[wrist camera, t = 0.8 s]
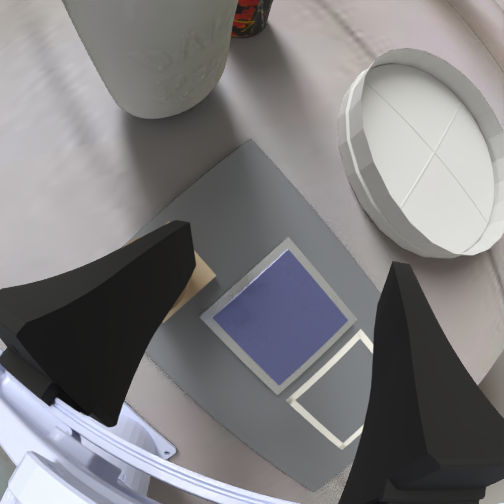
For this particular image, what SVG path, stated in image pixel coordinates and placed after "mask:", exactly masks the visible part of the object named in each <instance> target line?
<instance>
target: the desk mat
mask: <svg viewBox="0 0 504 504" xmlns="http://www.w3.org/2000/svg"><path fill="white" fill-rule="evenodd" d="M174 220H180V221H185V222H190V226H191V233H192V240H193V247H194V251H195V252H196V253H197V254H198V255H199V256H200V258H201V259H202V260H203V261H204V262H205V263H206V264H207V265H208V267H209V268H210V269H211V270H212V271H213V272H214V273H215V275H216V276H215V277H214V278H213V279H212V280H211V281H210V282H209V283H208V284H206V285H205V286H204V287H203V288H202V289H201V290H200V291H199V292H198V293H196V294H195V295H194V296H193V297H192V298H191V299H190V300H189V301H187V302H186V303H185V304H184V305H183V306H182V307H181V308H180V309H179V310H177V311H176V312H175V313H174V314H173V315H172V316H171V317H170V318H169V319H167V320H166V321H165V322H164V323H163V322H162V323H161V325H160V326H159V328H158V329H157V331H156V332H155V334H154V336H153V337H152V339H151V341H150V343H149V345H148V347H147V349H146V351H145V352H146V353H147V355H148V356H149V357H150V358H151V359H152V360H153V361H154V362H155V363H156V364H157V365H158V366H159V367H160V368H161V369H162V370H163V371H164V372H165V373H166V374H167V375H168V376H169V377H170V378H171V379H172V380H173V381H174V382H175V383H176V384H177V385H178V386H179V387H180V388H181V389H182V390H184V391H185V392H186V393H187V394H188V395H189V396H190V397H191V398H192V399H193V400H194V401H195V402H196V403H198V404H199V405H200V406H201V407H202V408H203V409H204V410H205V411H206V412H208V413H209V414H210V415H211V416H212V417H213V418H214V419H216V420H217V421H218V422H219V423H220V424H222V425H223V426H224V427H225V428H226V429H227V430H229V431H230V432H231V433H232V434H234V435H235V436H236V437H237V438H238V439H240V440H241V441H242V442H244V443H245V444H246V445H247V446H249V447H250V448H251V449H252V450H254V451H255V452H256V453H258V454H259V455H260V456H262V457H263V458H264V459H266V460H267V461H268V462H270V463H271V464H273V465H274V466H275V467H277V468H278V469H280V470H281V471H282V472H284V473H285V474H287V475H288V476H290V477H291V478H293V479H294V480H295V481H297V482H298V483H300V484H302V485H303V486H305V487H306V488H308V489H309V490H311V491H312V492H314V491H316V490H317V489H318V488H320V487H321V486H322V485H324V484H325V483H326V482H328V481H329V480H330V479H332V478H333V477H334V476H335V475H337V474H338V473H339V472H340V471H342V470H343V469H344V468H345V467H346V466H348V465H349V464H350V463H351V462H352V461H354V459H355V455H356V452H357V449H358V445H359V441H360V438H361V434H362V430H363V426H364V421H365V417H366V412H367V408H368V403H369V397H370V390H371V378H372V362H373V339H374V326H375V318H376V311H377V304H378V301H379V299H380V296H381V293H380V292H379V291H378V289H377V288H376V287H375V285H374V284H373V283H372V281H371V280H370V279H369V277H368V276H367V275H366V273H365V272H364V271H363V270H362V268H361V267H360V266H359V264H358V263H357V262H356V261H355V259H354V258H353V257H352V255H351V254H350V253H349V252H348V250H347V249H346V248H345V247H344V245H343V244H342V243H341V242H340V240H339V239H338V238H337V237H336V235H335V234H334V233H333V232H332V231H331V229H330V228H329V227H328V226H327V224H326V223H325V222H324V221H323V220H322V218H321V217H320V216H319V215H318V214H317V212H316V211H315V210H314V209H313V208H312V207H311V205H310V204H309V203H308V202H307V201H306V199H305V198H304V197H303V196H302V195H301V194H300V192H299V191H298V190H297V189H296V188H295V187H294V186H293V184H292V183H291V182H290V181H289V180H288V179H287V178H286V176H285V175H284V174H283V173H282V172H281V171H280V170H279V169H278V168H277V166H276V165H275V164H274V163H273V162H272V161H271V160H270V159H269V158H268V156H267V155H266V154H265V153H264V152H263V151H262V150H261V149H260V148H259V147H258V146H257V145H256V143H255V142H254V141H253V140H252V139H249V140H248V141H247V142H246V143H244V144H243V145H242V146H240V147H239V148H238V149H236V150H235V151H234V152H232V153H231V154H230V155H229V156H227V157H226V158H225V159H224V160H222V161H221V162H220V163H218V164H217V165H216V166H215V167H213V168H212V169H211V170H210V171H208V172H207V173H206V174H205V175H204V176H202V177H201V178H200V179H199V180H197V181H196V182H195V183H194V184H193V185H191V186H190V187H189V188H188V189H187V190H185V191H184V192H183V193H182V194H181V195H180V196H178V197H177V198H176V199H175V200H174V201H173V202H171V203H170V204H169V205H168V206H167V207H166V208H165V209H163V210H162V211H161V212H160V213H159V214H158V215H157V216H155V217H154V218H153V219H152V220H151V221H150V222H149V223H148V224H147V225H145V226H144V227H143V228H142V229H141V230H140V231H139V232H138V233H137V234H136V235H134V236H133V237H132V238H131V239H130V240H129V241H128V242H127V243H129V242H130V241H132V240H134V239H136V238H139V237H142V236H144V235H146V234H148V233H150V232H152V231H154V230H156V229H158V228H159V227H161V226H163V225H165V224H166V223H167V222H168V221H169V222H172V221H174ZM285 237H289V238H290V239H291V240H292V242H293V243H294V244H295V245H296V246H297V247H298V249H299V250H300V251H301V252H302V253H303V254H304V256H305V257H306V258H307V259H308V260H309V262H310V263H311V264H312V265H313V266H314V267H315V269H316V270H317V271H318V272H319V273H320V275H321V276H322V277H323V278H324V279H325V281H326V282H327V283H328V284H329V285H330V287H331V288H332V289H333V290H334V292H335V293H336V294H337V295H338V296H339V298H340V299H341V300H342V301H343V302H344V304H345V305H346V306H347V307H348V309H349V310H350V311H351V312H352V314H353V315H354V316H355V317H356V318H357V320H356V321H355V322H354V324H353V325H352V326H351V327H350V328H349V329H348V330H347V331H346V332H345V333H344V334H343V335H342V336H341V337H340V338H339V339H338V340H337V341H336V342H335V343H334V344H333V345H332V346H331V347H330V348H329V349H328V350H327V351H326V352H324V353H323V354H322V355H321V356H320V357H319V358H318V359H317V360H316V361H315V362H314V363H313V364H312V365H311V366H310V367H309V368H308V369H306V370H305V371H304V372H303V373H302V374H301V375H300V376H299V377H298V378H297V379H295V380H294V381H293V382H292V383H291V384H290V385H289V386H288V387H286V388H285V389H284V390H283V391H282V392H281V393H279V394H278V395H277V394H275V393H274V392H273V391H272V390H271V389H270V388H269V387H268V386H267V385H266V384H265V383H264V382H263V381H262V380H261V379H260V378H259V377H258V376H257V375H256V374H255V373H254V372H253V371H252V370H251V369H250V368H249V367H247V366H246V365H245V364H244V363H243V362H242V361H241V360H240V359H239V358H238V357H237V356H236V354H235V353H234V352H233V351H232V350H231V349H230V348H229V347H228V346H227V345H226V344H225V343H224V342H223V341H222V340H221V339H220V338H219V337H218V336H217V335H216V334H215V333H214V332H213V331H212V330H211V329H210V328H209V327H208V325H207V324H206V323H205V322H204V321H203V320H202V319H201V318H200V317H199V316H200V313H202V312H203V311H204V310H205V309H206V308H207V307H208V306H209V305H210V304H212V303H213V302H214V301H215V300H216V299H217V298H218V297H219V296H221V295H222V294H223V293H224V292H225V291H226V290H227V289H228V288H229V287H231V286H232V285H233V284H234V283H235V282H236V281H237V280H238V279H239V278H241V277H242V276H243V275H244V274H245V273H246V272H247V271H248V270H249V269H251V268H252V267H253V266H254V265H255V264H256V263H257V262H258V261H259V260H261V259H262V258H263V257H264V256H265V255H266V254H267V253H268V252H269V251H270V250H272V249H273V248H274V247H275V246H276V245H277V244H278V243H279V242H280V241H282V240H283V239H284V238H285ZM127 243H126V244H127ZM126 244H125V245H126ZM125 245H124V246H125ZM124 246H123V247H124Z"/></svg>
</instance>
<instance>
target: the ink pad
mask: <svg viewBox="0 0 504 504" xmlns="http://www.w3.org/2000/svg"><path fill="white" fill-rule="evenodd" d="M199 317H200V318H201V319H202V320H203V321H204V322H205V323H206V324H207V325H208V327H209V328H210V329H211V330H212V331H213V332H214V333H215V334H216V335H217V336H218V337H219V338H220V339H221V340H222V341H223V342H224V343H225V344H226V345H227V346H228V347H229V348H230V349H231V350H232V351H233V352H234V353H235V354H236V356H237V357H238V358H239V359H240V360H241V361H242V362H243V363H244V364H245V365H246V366H247V367H249V368H250V369H251V370H252V371H253V372H254V373H255V374H256V375H257V376H258V377H259V378H260V379H261V380H262V381H263V382H264V383H265V384H266V385H267V386H268V387H269V388H270V389H271V390H272V391H273V392H274V393H275V394H277V395H278V394H279V393H281V392H282V391H283V390H284V389H285V388H286V387H288V386H289V385H290V384H291V383H292V382H293V381H294V380H295V379H297V378H298V377H299V376H300V375H301V374H302V373H303V372H304V371H305V370H306V369H308V368H309V367H310V366H311V365H312V364H313V363H314V362H315V361H316V360H317V359H318V358H319V357H320V356H321V355H322V354H323V353H324V352H326V351H327V350H328V349H329V348H330V347H331V346H332V345H333V344H334V343H335V342H336V341H337V340H338V339H339V338H340V337H341V336H342V335H343V334H344V333H345V332H346V331H347V330H348V329H349V328H350V327H351V326H352V325H353V324H354V322H355V321H356V320H357V318H356V317H355V316H354V315H353V314H352V312H351V311H350V310H349V309H348V307H347V306H346V305H345V304H344V302H343V301H342V300H341V299H340V298H339V296H338V295H337V294H336V293H335V292H334V290H333V289H332V288H331V287H330V285H329V284H328V283H327V282H326V281H325V279H324V278H323V277H322V276H321V275H320V273H319V272H318V271H317V270H316V269H315V267H314V266H313V265H312V264H311V263H310V262H309V260H308V259H307V258H306V257H305V256H304V254H303V253H302V252H301V251H300V250H299V249H298V247H297V246H296V245H295V244H294V243H293V242H292V240H291V239H290V238H289V237H285V238H284V239H283V240H282V241H280V242H279V243H278V244H277V245H276V246H275V247H274V248H273V249H272V250H270V251H269V252H268V253H267V254H266V255H265V256H264V257H263V258H262V259H261V260H259V261H258V262H257V263H256V264H255V265H254V266H253V267H252V268H251V269H249V270H248V271H247V272H246V273H245V274H244V275H243V276H242V277H241V278H239V279H238V280H237V281H236V282H235V283H234V284H233V285H232V286H231V287H229V288H228V289H227V290H226V291H225V292H224V293H223V294H222V295H221V296H219V297H218V298H217V299H216V300H215V301H214V302H213V303H212V304H210V305H209V306H208V307H207V308H206V309H205V310H204V311H203V312H202V313H200V316H199Z"/></svg>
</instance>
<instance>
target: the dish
mask: <svg viewBox="0 0 504 504" xmlns="http://www.w3.org/2000/svg"><path fill="white" fill-rule="evenodd" d="M338 143H339V150H340V154H341V157H342V161H343V165H344V168H345V172H346V176H347V178H348V180H349V182H350V184H351V186H352V188H353V190H354V192H355V194H356V196H357V198H358V200H359V202H360V204H361V206H362V207H363V209H364V210H365V211H366V213H367V214H368V215H369V216H370V218H371V219H372V220H373V222H374V223H375V224H376V226H377V227H378V228H379V230H380V231H382V232H383V233H384V234H385V235H387V236H388V237H389V238H390V239H391V240H393V241H394V242H395V243H396V244H398V245H399V246H400V247H401V248H403V249H406V250H408V251H410V252H413V253H415V254H417V255H419V256H422V257H432V258H456V257H459V256H461V255H475V254H478V253H480V252H483V251H485V250H488V249H490V248H491V247H492V246H493V245H494V244H495V243H496V242H497V241H498V240H499V239H500V238H501V236H502V234H503V232H504V132H503V130H502V128H501V126H500V123H499V121H498V119H497V117H496V115H495V113H494V112H493V110H492V108H491V107H490V105H489V104H488V102H487V101H486V99H485V98H484V97H483V95H482V94H481V92H480V91H479V90H478V89H477V88H476V87H475V86H474V85H473V83H472V82H471V81H470V80H469V79H468V78H467V77H466V76H465V75H464V74H463V73H461V72H460V71H459V70H457V69H456V68H455V67H453V66H452V65H451V64H449V63H448V62H447V61H445V60H443V59H441V58H439V57H437V56H435V55H433V54H431V53H428V52H426V51H421V50H416V49H411V48H404V49H396V50H390V51H388V52H387V53H385V54H383V55H382V56H380V57H378V58H377V59H375V60H374V62H373V63H372V64H371V65H370V67H369V68H367V69H366V70H364V71H363V72H361V74H360V75H359V76H358V77H357V78H356V79H355V81H354V82H353V83H352V85H351V86H350V88H349V89H348V91H347V92H346V94H345V95H344V97H343V100H342V104H341V108H340V112H339V117H338Z"/></svg>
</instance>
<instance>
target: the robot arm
mask: <svg viewBox="0 0 504 504" xmlns="http://www.w3.org/2000/svg"><path fill="white" fill-rule="evenodd" d="M195 267H196V259H195V253H194V247H193V240H192V233H191V226H190V222H185V221H180V220H174V221H172V222H170V223H167V224H165V225H163V226H161V227H159V228H158V229H156V230H154V231H152V232H150V233H148V234H146V235H144V236H143V237H141V238H139V239H137V240H135V241H133V242H132V243H130V244H128V245H126V246H124V247H122V248H120V249H118V250H116V251H114V252H112V253H110V254H108V255H106V256H104V257H102V258H100V259H98V260H96V261H94V262H91V263H89V264H87V265H84V266H82V267H80V268H77V269H74V270H71V271H69V272H66V273H63V274H60V275H57V276H55V277H51V278H48V279H45V280H41V281H37V282H33V283H29V284H25V285H20V286H14V287H9V288H3V289H1V290H0V338H1V339H2V341H3V342H4V343H5V345H6V346H7V349H6V350H5V351H3V350H2V349H1V348H0V445H1V446H2V448H3V449H4V450H5V452H6V453H7V454H8V456H9V457H10V458H11V460H12V461H13V462H14V464H15V465H16V466H17V468H16V469H15V471H14V473H13V475H12V476H11V478H10V480H9V481H8V488H7V490H6V492H5V494H4V496H3V498H2V500H1V502H0V504H162V503H159V502H157V501H155V500H153V499H151V498H149V497H147V492H148V487H149V483H150V478H151V477H153V478H155V479H158V480H160V481H162V482H164V483H166V484H168V485H171V486H173V487H175V488H177V489H180V490H182V491H184V492H187V493H189V494H192V495H194V496H197V497H199V498H202V499H205V500H207V501H210V502H213V503H216V504H300V503H295V502H291V501H286V500H282V499H278V498H274V497H270V496H266V495H262V494H258V493H255V492H251V491H248V490H245V489H241V488H238V487H235V486H232V485H229V484H226V483H223V482H220V481H217V480H214V479H211V478H209V477H206V476H203V475H201V474H198V473H196V472H193V471H191V470H188V469H186V468H183V467H181V466H178V465H176V464H174V463H172V462H169V461H167V459H168V458H170V457H171V456H172V455H174V454H175V453H176V447H175V446H174V445H172V444H171V443H170V442H169V441H168V440H166V439H165V438H164V437H163V436H162V435H160V434H159V433H158V432H157V431H156V430H155V429H154V428H152V427H151V426H150V425H149V424H148V423H147V422H146V421H145V420H143V419H142V418H141V417H140V416H139V415H138V414H137V413H136V412H135V411H134V410H133V409H132V408H131V407H130V406H129V405H127V404H126V403H125V402H124V400H125V397H126V395H127V392H128V389H129V387H130V384H131V382H132V379H133V377H134V374H135V372H136V370H137V368H138V366H139V363H140V361H141V359H142V357H143V355H144V353H145V351H146V349H147V347H148V345H149V343H150V341H151V339H152V337H153V336H154V334H155V332H156V331H157V329H158V328H159V326H160V325H161V323H162V322H163V320H164V319H165V317H166V316H167V314H168V313H169V311H170V310H171V308H172V307H173V305H174V304H175V302H176V301H177V299H178V298H179V296H180V295H181V294H182V292H183V290H184V289H185V287H186V286H187V284H188V282H189V280H190V278H191V276H192V274H193V271H194V269H195ZM79 412H81V413H83V414H85V415H82V414H81V413H79ZM165 451H168V452H169V453H165ZM502 479H504V418H503V417H502V416H501V415H500V414H499V413H498V411H497V410H496V409H495V408H494V407H493V405H492V404H491V403H490V402H489V400H488V399H487V398H486V397H485V395H484V394H483V393H482V391H481V390H480V389H479V387H478V386H477V384H476V383H475V381H474V380H473V379H472V377H471V376H470V374H469V373H468V372H467V370H466V369H465V367H464V366H463V364H462V363H461V361H460V359H459V358H458V356H457V354H456V353H455V351H454V350H453V348H452V346H451V345H450V343H449V341H448V340H447V338H446V336H445V334H444V332H443V330H442V329H441V327H440V325H439V323H438V321H437V319H436V317H435V315H434V313H433V311H432V309H431V307H430V305H429V303H428V301H427V299H426V297H425V295H424V293H423V291H422V289H421V287H420V284H419V282H418V280H417V278H416V276H415V274H414V272H413V270H412V268H411V266H410V265H409V264H404V263H400V262H395V261H393V262H392V265H391V268H390V271H389V274H388V277H387V279H386V282H385V285H384V288H383V291H382V293H381V296H380V299H379V301H378V304H377V311H376V318H375V326H374V339H373V362H372V378H371V390H370V397H369V403H368V408H367V412H366V417H365V421H364V426H363V430H362V434H361V438H360V441H359V445H358V449H357V452H356V455H355V459H354V462H353V465H352V468H351V471H350V474H349V477H348V480H347V483H346V485H345V488H344V491H343V493H342V496H341V498H340V501H339V503H338V504H479V500H480V499H483V498H484V497H485V490H486V487H487V486H489V485H491V484H494V483H496V482H498V481H500V480H502ZM500 504H504V503H500Z"/></svg>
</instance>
